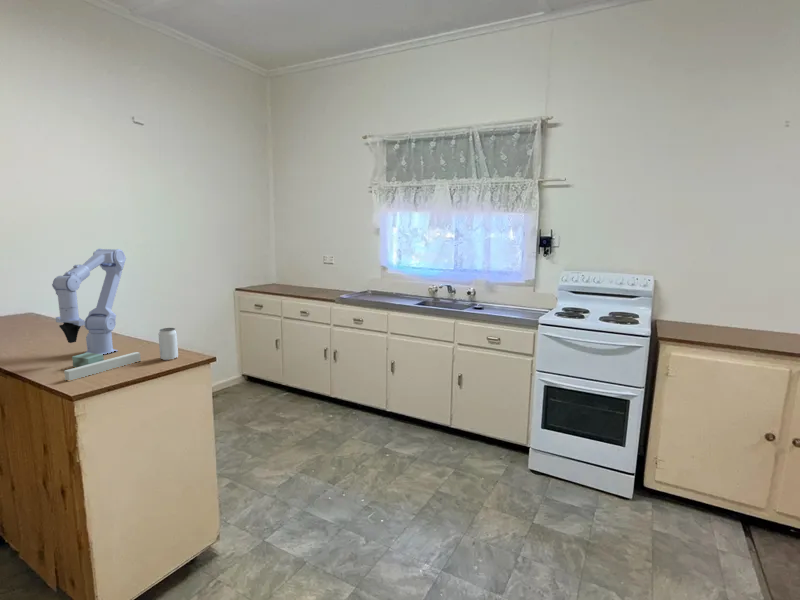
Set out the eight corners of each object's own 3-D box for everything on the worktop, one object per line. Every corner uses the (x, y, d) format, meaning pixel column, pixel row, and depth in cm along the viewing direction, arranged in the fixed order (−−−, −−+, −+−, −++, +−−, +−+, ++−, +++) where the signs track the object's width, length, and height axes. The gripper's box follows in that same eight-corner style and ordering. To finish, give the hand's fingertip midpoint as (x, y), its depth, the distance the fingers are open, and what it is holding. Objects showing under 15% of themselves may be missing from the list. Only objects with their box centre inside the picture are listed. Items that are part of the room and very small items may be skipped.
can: (161, 356, 182) (159, 328, 180) (179, 355, 185) (177, 327, 183) (159, 361, 176) (157, 331, 174) (177, 359, 179) (175, 330, 177)
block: (73, 368, 167) (72, 356, 166) (88, 363, 172) (87, 352, 172) (89, 370, 164) (88, 358, 164) (104, 365, 170) (103, 354, 169)
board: (65, 380, 153) (64, 370, 153) (136, 360, 177) (136, 352, 176) (69, 381, 152) (68, 371, 152) (140, 361, 176) (140, 352, 175)
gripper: (45, 307, 168) (49, 342, 170) (68, 310, 162) (72, 347, 164) (65, 304, 174) (69, 338, 176) (88, 307, 168) (92, 342, 171)
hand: (72, 342), depth 171 cm, fingers closed
